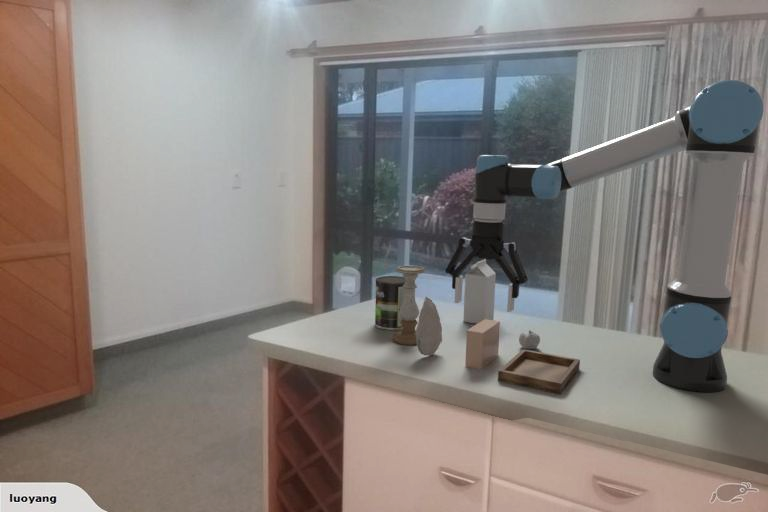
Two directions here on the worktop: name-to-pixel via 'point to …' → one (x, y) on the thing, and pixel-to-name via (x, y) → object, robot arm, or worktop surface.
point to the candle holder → (408, 306)
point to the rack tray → (539, 371)
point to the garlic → (529, 340)
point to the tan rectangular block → (482, 343)
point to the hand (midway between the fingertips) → (483, 306)
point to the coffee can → (389, 302)
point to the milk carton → (479, 293)
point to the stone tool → (428, 329)
